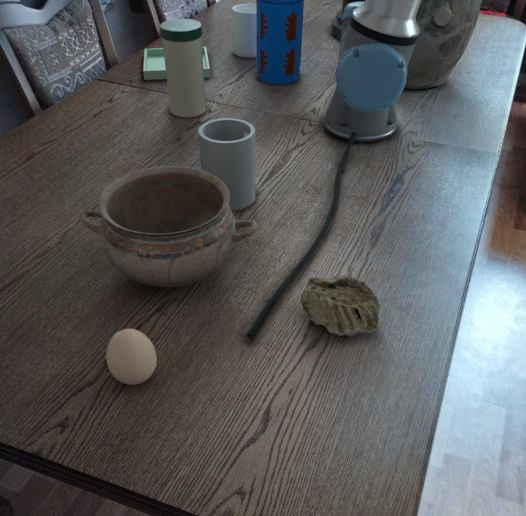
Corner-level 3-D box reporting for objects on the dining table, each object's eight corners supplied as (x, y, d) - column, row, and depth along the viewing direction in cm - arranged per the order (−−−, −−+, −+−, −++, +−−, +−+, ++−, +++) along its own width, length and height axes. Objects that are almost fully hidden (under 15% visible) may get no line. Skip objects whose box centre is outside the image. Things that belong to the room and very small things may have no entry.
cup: (195, 204, 95) (189, 137, 87) (216, 180, 101) (212, 114, 93) (243, 214, 93) (242, 147, 85) (262, 189, 99) (262, 123, 90)
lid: (203, 40, 109) (202, 30, 108) (160, 42, 109) (159, 32, 107) (201, 27, 115) (200, 18, 114) (160, 29, 114) (159, 19, 113)
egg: (131, 354, 70) (121, 310, 65) (169, 370, 68) (161, 326, 63) (102, 385, 67) (89, 340, 61) (141, 402, 65) (130, 358, 59)
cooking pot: (72, 305, 77) (48, 231, 68) (111, 229, 90) (95, 158, 81) (250, 318, 75) (249, 244, 66) (263, 239, 88) (264, 168, 80)
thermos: (300, 69, 141) (307, -50, 123) (298, 85, 133) (305, -39, 115) (258, 67, 141) (259, -51, 123) (254, 83, 134) (253, -41, 116)
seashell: (367, 360, 74) (390, 296, 77) (374, 343, 67) (398, 273, 70) (289, 333, 76) (314, 272, 79) (288, 313, 69) (315, 247, 72)
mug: (266, 44, 154) (267, 0, 146) (264, 59, 146) (264, 13, 138) (236, 43, 154) (235, -1, 147) (231, 58, 146) (230, 12, 138)
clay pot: (381, 58, 147) (402, -83, 125) (468, 72, 140) (506, -75, 119) (354, 87, 133) (373, -67, 111) (449, 104, 126) (489, -56, 104)
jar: (207, 116, 120) (201, 33, 109) (170, 118, 120) (160, 34, 108) (205, 101, 126) (199, 21, 114) (170, 103, 125) (160, 22, 113)
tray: (210, 77, 136) (209, 68, 135) (144, 80, 135) (143, 71, 133) (206, 55, 148) (206, 46, 146) (145, 57, 146) (144, 48, 145)
